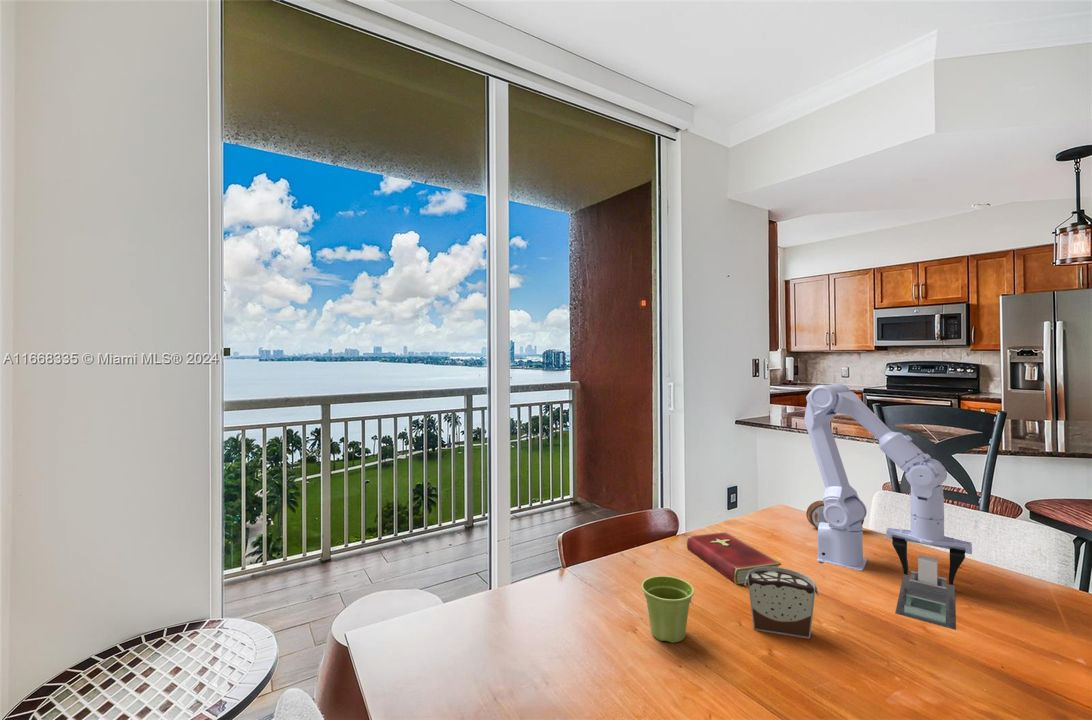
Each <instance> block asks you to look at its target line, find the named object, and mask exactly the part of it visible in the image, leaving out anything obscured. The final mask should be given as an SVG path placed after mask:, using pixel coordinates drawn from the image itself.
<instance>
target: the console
mask: <svg viewBox="0 0 1092 720" xmlns="http://www.w3.org/2000/svg"><path fill="white" fill-rule="evenodd" d="M937 582H938V586H937V585H933V584H928V583H924V582H920V581H918V571H914V570H910V575H909V574H908V575H905V574H904V573H903V576H902V579H901V584H900V590H899V594H898V598H897V602H896V609H895V613H894V614H896V615H899V616H902V617H903V616H904V617H906V618H911V619H914V620H918V621H921V622H925V623H928V624H932V625H936V626H940V627H943V628H947V629H949V630H956V629H957V628H956V627H957V626H956V624H957V623H956V586H955V585H954V584H953V585H950V584H949V583H947V578H946V577H940V576H937ZM956 631H957V630H956Z"/></svg>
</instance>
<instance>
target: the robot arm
mask: <svg viewBox="0 0 1092 720" xmlns="http://www.w3.org/2000/svg"><path fill="white" fill-rule="evenodd" d="M805 399H806V402H807V403H806V408H805V411H804V412H805V413H804V418H803V419H804V423H805V428H806V430H807V434H808V436H809V440H810V443H811V447H812V449H813V453H814V456H815V459H816V463H817V466H818V469H819V472H820V475H821V477H822V481H823V485H824V487H825V489H824V493H823V494H822V495H823V497H822V501H823V502H824V510H823V514H824V518H825V520H826V521H827V522H828V523H824V522H820V523H819V527H818V529H817V559H816V560H817V562H819V563H826V564H830V565H835V566H839V567H842V568H847V569H852V570H855V571H859V572H863V571H864V569H865V566H866V564H867V561H868V559H866V558H864V550H863V549H864V546H863V543H864V538H863V537H864V536H863V535H864V533H863V529H864V528H863V525H862V524H861V521H862V520H863V519H864V520H865V518H866V517H867V513H868V512H867V511H868V510H867V506H866V505H865V503H864V501H862V500H861V499H860V497H859V495H858V493H857V491H856V489H855V488H853V487H852V486H851V485H850V483H849V479H848V475H847V473H846V470H845V468H844V463H843V461H842V458H841V454H840V451H839V449H838V446H837V442H836V440H835V436H834V433H833V430H832V426H831V422H832V420H833V419H834V418H835V416H836V415H837V414H841V415H847V416H850V417H852V419H853V420H855V421H856V422H857V423H858V424H860V425H861V426H862V427H863V428H864V429H865V430H867V431H868V432H869V433H870V434H871V435H872V436H873V437H875V439H877V440H878V443H879V449H880V451H882V452H883V453H884V455H886V456H887V457H888V458H889V459H890V460H891V461H892V462H893V463H894V464H895V465H896V466H897V467H898V468H900V470H901V471H903V472H905V473H904V474H905V479H906V481H907V483H908V484H909V485H910V529H901V528H893V527H887V528H886V539H889V540H892V543H891V545H892V547H893V548H894V550H895V552H896V554H897V555H898V556H897V557H898V558H899V560H900V561H899V562H900V563H901V567H902V570H903V575H904V574H905V575H909V564H908V563H909V562H908V542H909V543H914V544H919V545H926V546H931V547H935V548H942V549H947V550H949V571H948V584H949V585H954V581H955V576H956V574H957V572H958V570H959V568H960V566H961V565H962V563H963V562H964V560H965V559H966V554H969V555H973V543H972V542H971V541H966V540H961V539H957V538H954V537H949V536H946V535H945V497H944V485H943V483H944V482H945V481H946V480H947V477H948V472H947V469H946V467H944V465H943V464H942V462H941V461H939V460H937V459H935V458H932V456H930V455H929V453H924V452H923V451H922V449H920V448H919V447H918V446H917V445H915V444H914V442H912V441H913V438H912V437H911V436H910V435H905V434H903V432H900V431H899V432H896V431H892V430H891V428H889V427H888V426H887V425H886V424H885V423H884V422H883V421H882V419H880V418H879V417H878V416H877V415H876V414H875V413H874V412H873V411H872V410H871V409H870V408H869V407H868V406H867V405H866V404H865V403H864V402H863V401H862V400H861V398H860V397H859V396H858V394H856V393H855V392H853V391H851V389H850V388H849V387H847V386H846V385H845V384H842V383H833V384H826V385H825V384H819V385H816V386H814V387H813V388H812V389H811V390H810V391H809V393H808V394H807V395H806V396H805Z"/></svg>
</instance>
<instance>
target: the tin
mask: <svg viewBox="0 0 1092 720" xmlns="http://www.w3.org/2000/svg"><path fill="white" fill-rule="evenodd" d="M823 510H824V502H823V500H817V501H813V502H812V503H811V504H810V505H809V506H808V507H807V509H806V512H805V514H806V518H807V521H808V523H810V525H812V526H813V527H814V528H815V529H816V530H818V527H819V523H820V522H824V523H828V522H827V521H826V520H825V518H824V514H823ZM864 522H865V518H864V519H863V520H862V521H861V524H862V526H863V524H864Z"/></svg>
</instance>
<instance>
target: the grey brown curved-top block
mask: <svg viewBox="0 0 1092 720" xmlns="http://www.w3.org/2000/svg"><path fill="white" fill-rule="evenodd" d="M747 581H748V583H747ZM747 584H748V585H747ZM744 586H745V587H746V586H748V594H749V601H750V602H749V603H750V609H751V618H752V626H753V630H754V631H758V632H759V631H760V632H765V633H773V634H778V635H785V636H789V637H790V636H791V637H795V638H796V637H797V638H802V639H811V635H812V626H813V614H814V605H815V597H816V595H817V597H819V596H820V594H819V591H818V587H817V585H816V583H815V581H814V580H813V579H812V578H810V577H809V576H807V575H805V574H803V573H801V572H798V571H795V570H792V569H789V568H785V567H780V566H779V567H758V568H754V569H752V570H750V571H749V572H748V575H747V577H746V581H745V583H744Z"/></svg>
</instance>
